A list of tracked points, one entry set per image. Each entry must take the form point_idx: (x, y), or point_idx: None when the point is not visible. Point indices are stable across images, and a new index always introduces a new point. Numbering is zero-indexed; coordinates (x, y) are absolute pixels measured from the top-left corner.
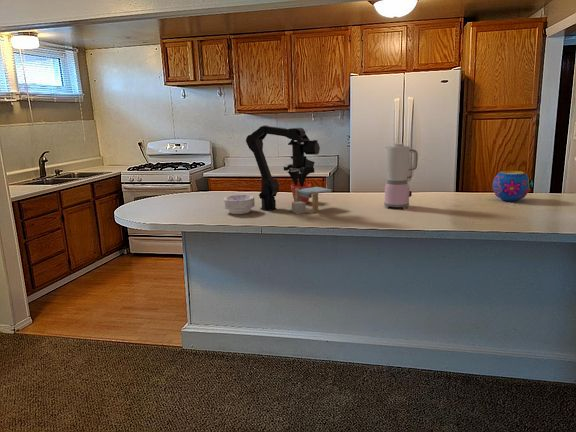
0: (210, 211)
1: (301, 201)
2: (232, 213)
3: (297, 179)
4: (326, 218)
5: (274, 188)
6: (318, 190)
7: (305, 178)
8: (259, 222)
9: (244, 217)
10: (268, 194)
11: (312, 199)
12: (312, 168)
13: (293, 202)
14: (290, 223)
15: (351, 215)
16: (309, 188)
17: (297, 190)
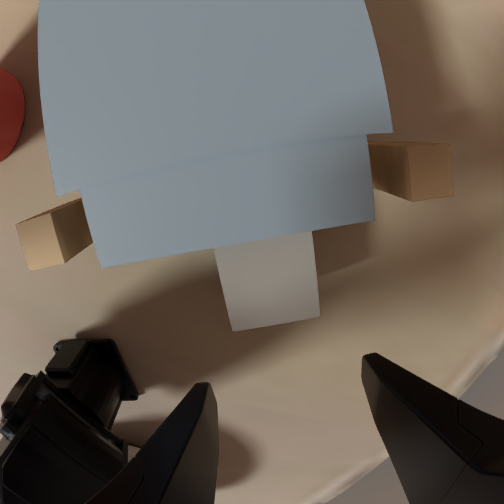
0: None
1: (14, 130)
2: None
3: (186, 453)
4: (488, 188)
5: (94, 466)
6: (308, 37)
7: (486, 413)
8: (346, 456)
9: (232, 477)
10: (125, 464)
11: (378, 188)
12: None
13: (241, 320)
14: (445, 372)
15: (489, 42)
16: (78, 85)
17: (70, 253)
